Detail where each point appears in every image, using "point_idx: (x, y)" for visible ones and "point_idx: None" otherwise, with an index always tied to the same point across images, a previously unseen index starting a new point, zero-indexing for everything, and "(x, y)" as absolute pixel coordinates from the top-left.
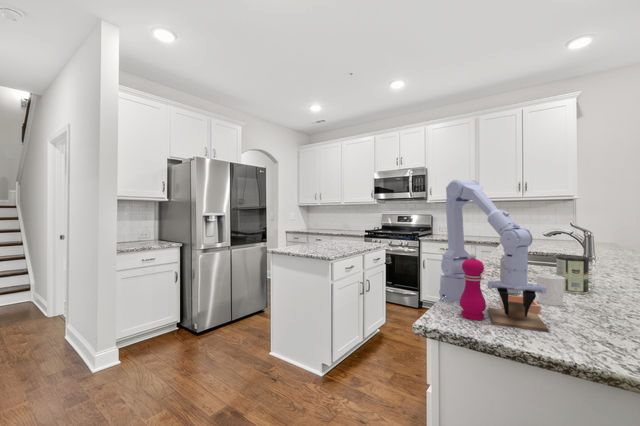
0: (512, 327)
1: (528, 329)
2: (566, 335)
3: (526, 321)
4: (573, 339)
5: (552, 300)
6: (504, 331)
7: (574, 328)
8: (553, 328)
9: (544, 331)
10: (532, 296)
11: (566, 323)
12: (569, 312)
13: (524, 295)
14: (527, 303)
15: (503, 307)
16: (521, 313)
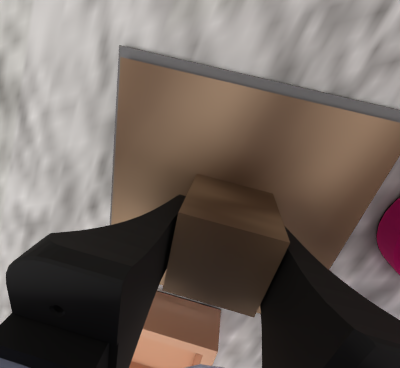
0: (302, 89)
1: (220, 74)
2: (58, 65)
3: (194, 160)
4: (40, 11)
5: None
6: (370, 45)
7: (13, 164)
8: (89, 149)
9: (145, 60)
10: (66, 244)
11: (30, 212)
12: (5, 304)
13: (135, 319)
14: (150, 227)
15: (218, 326)
16: (208, 193)
